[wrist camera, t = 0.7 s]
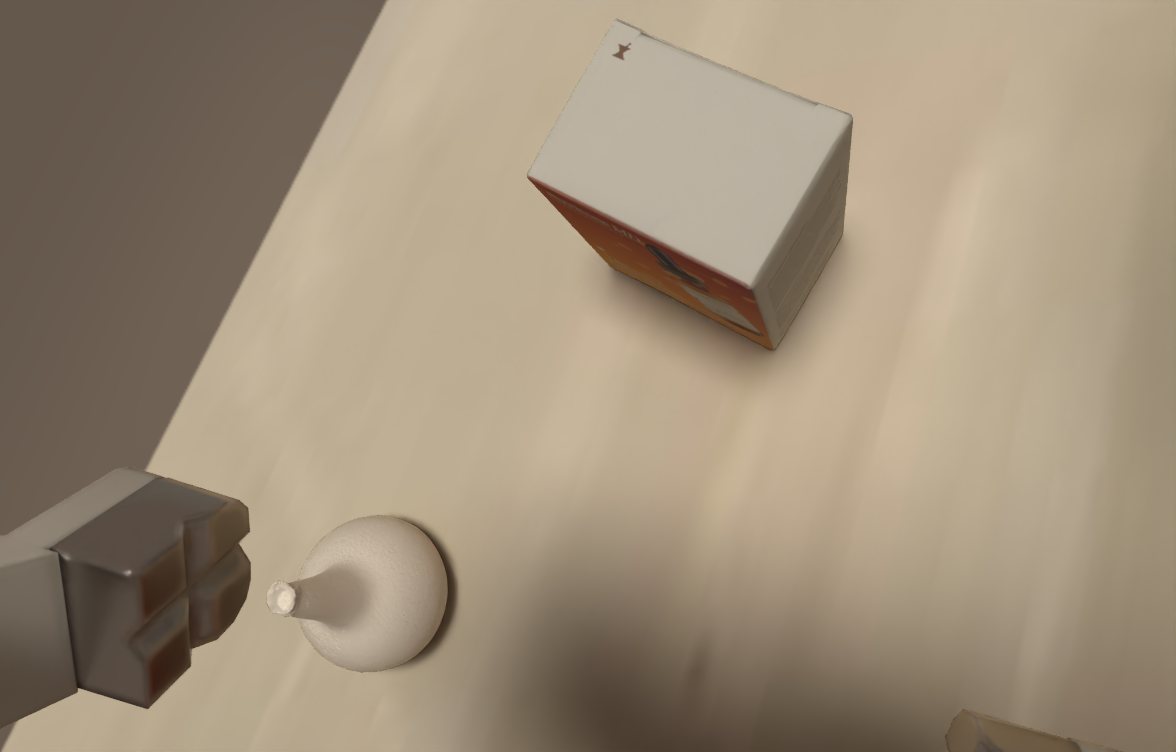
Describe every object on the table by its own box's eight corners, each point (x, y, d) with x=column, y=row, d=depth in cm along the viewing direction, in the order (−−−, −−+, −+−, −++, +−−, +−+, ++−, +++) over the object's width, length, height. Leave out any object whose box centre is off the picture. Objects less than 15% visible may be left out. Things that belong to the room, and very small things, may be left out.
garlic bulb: (313, 632, 36) (174, 671, 28) (354, 496, 36) (226, 499, 28) (434, 683, 34) (319, 740, 26) (475, 539, 34) (373, 553, 26)
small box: (608, 267, 34) (515, 174, 24) (674, 152, 34) (609, 10, 24) (776, 356, 31) (750, 294, 21) (848, 232, 31) (857, 111, 21)
